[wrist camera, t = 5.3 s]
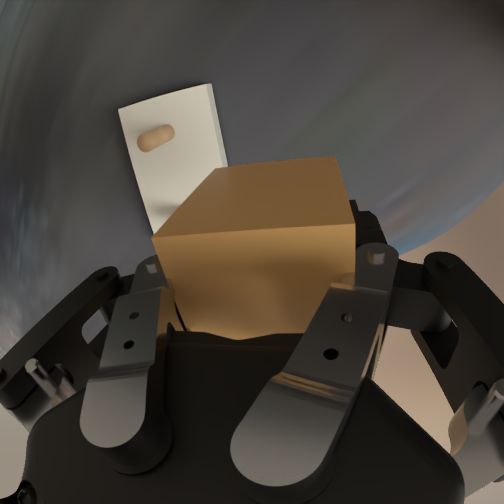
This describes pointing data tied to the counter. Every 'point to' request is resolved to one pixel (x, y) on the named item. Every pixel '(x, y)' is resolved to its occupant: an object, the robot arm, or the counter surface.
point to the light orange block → (258, 247)
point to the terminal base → (172, 147)
